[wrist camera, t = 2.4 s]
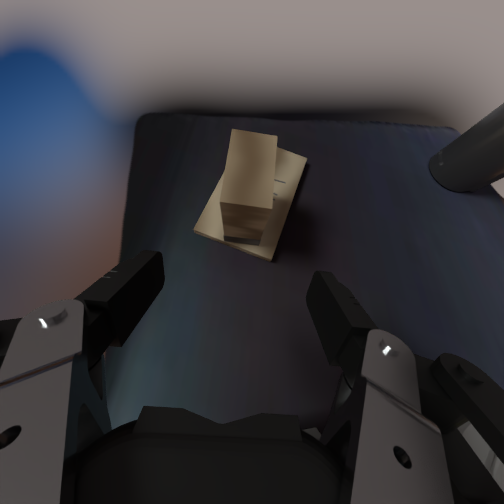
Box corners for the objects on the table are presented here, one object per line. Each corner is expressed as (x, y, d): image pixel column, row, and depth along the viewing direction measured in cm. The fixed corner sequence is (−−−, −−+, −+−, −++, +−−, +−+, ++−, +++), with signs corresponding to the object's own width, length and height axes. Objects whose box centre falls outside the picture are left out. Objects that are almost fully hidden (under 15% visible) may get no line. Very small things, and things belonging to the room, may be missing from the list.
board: (304, 163, 33) (307, 158, 31) (269, 261, 26) (271, 259, 25) (243, 140, 33) (244, 134, 32) (195, 232, 27) (193, 229, 25)
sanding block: (263, 192, 28) (278, 135, 19) (258, 245, 26) (273, 210, 16) (232, 188, 28) (231, 128, 19) (224, 241, 25) (218, 202, 16)
